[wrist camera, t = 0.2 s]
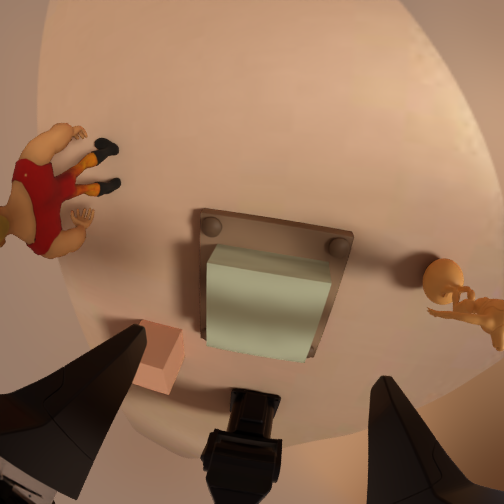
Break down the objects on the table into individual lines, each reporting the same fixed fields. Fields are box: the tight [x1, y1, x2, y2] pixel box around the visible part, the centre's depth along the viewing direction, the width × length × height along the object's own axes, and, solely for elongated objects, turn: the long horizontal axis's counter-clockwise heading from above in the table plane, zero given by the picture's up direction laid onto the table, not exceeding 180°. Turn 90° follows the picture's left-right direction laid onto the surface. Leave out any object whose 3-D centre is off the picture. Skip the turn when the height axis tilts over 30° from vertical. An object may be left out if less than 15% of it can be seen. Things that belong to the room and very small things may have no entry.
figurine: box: [423, 259, 504, 351], centre depth 16 cm, size 8×6×12 cm
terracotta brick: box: [132, 319, 185, 395], centre depth 29 cm, size 5×5×6 cm
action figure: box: [0, 123, 121, 259], centre depth 15 cm, size 9×4×15 cm, turn 176°
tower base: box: [200, 208, 354, 363], centre depth 24 cm, size 14×12×4 cm
